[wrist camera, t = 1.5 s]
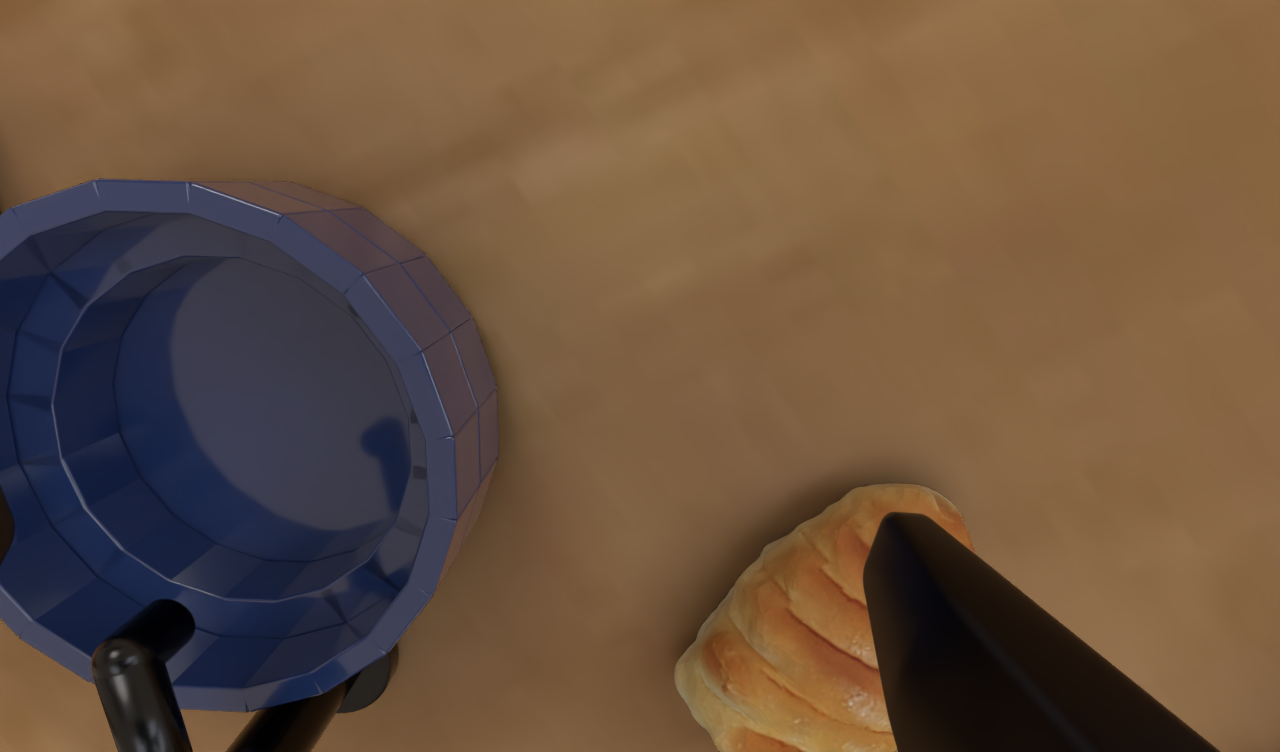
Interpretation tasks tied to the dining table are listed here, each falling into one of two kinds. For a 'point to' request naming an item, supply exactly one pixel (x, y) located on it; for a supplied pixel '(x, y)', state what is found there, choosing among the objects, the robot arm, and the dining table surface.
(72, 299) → the basin
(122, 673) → the tap
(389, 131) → the dining table surface
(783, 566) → the pastry
